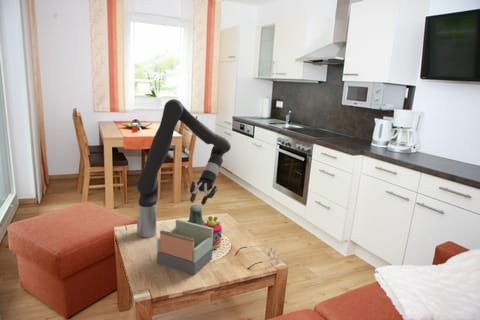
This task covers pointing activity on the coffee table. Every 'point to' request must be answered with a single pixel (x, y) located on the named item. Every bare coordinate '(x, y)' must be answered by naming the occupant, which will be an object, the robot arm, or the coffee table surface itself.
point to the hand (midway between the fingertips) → (197, 202)
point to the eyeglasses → (265, 249)
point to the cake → (215, 231)
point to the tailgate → (176, 245)
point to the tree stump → (196, 215)
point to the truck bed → (200, 251)
